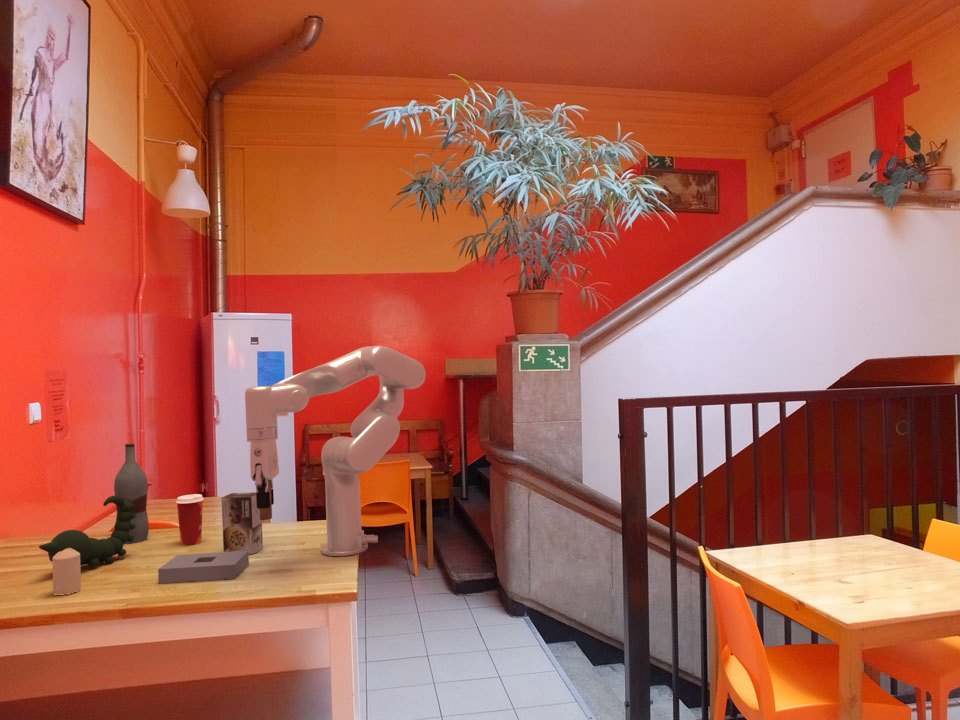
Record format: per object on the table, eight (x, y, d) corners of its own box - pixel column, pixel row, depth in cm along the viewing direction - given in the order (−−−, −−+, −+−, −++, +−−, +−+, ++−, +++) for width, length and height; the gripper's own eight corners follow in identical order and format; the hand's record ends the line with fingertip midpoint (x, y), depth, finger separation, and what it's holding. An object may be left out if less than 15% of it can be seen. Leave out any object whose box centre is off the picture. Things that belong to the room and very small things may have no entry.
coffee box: (263, 548, 183) (262, 491, 183) (253, 554, 177) (251, 496, 177) (233, 548, 184) (231, 492, 184) (222, 554, 178) (220, 496, 178)
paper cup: (210, 541, 193) (209, 494, 193) (186, 547, 186) (185, 499, 187) (194, 538, 197) (193, 493, 197) (171, 544, 191) (170, 497, 191)
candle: (61, 588, 153) (60, 547, 153) (85, 587, 154) (84, 545, 154) (48, 596, 148) (47, 553, 148) (73, 595, 148) (71, 552, 148)
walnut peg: (273, 516, 164) (271, 478, 164) (270, 519, 161) (268, 480, 161) (261, 517, 164) (259, 478, 164) (258, 520, 161) (256, 480, 161)
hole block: (248, 564, 168) (248, 550, 168) (234, 579, 156) (234, 564, 156) (177, 568, 166) (177, 554, 166) (158, 583, 154) (158, 569, 154)
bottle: (108, 544, 194) (105, 445, 194) (130, 536, 202) (128, 441, 203) (134, 545, 192) (131, 445, 192) (156, 537, 200) (153, 441, 201)
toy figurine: (117, 559, 182) (25, 579, 160) (121, 492, 184) (30, 502, 162) (140, 562, 179) (48, 583, 156) (144, 494, 180) (53, 504, 158)
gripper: (269, 437, 155) (272, 512, 155) (284, 430, 171) (287, 498, 171) (237, 439, 154) (241, 514, 154) (255, 432, 171) (258, 500, 171)
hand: (265, 505), depth 163 cm, fingers closed on walnut peg, 3 cm apart
